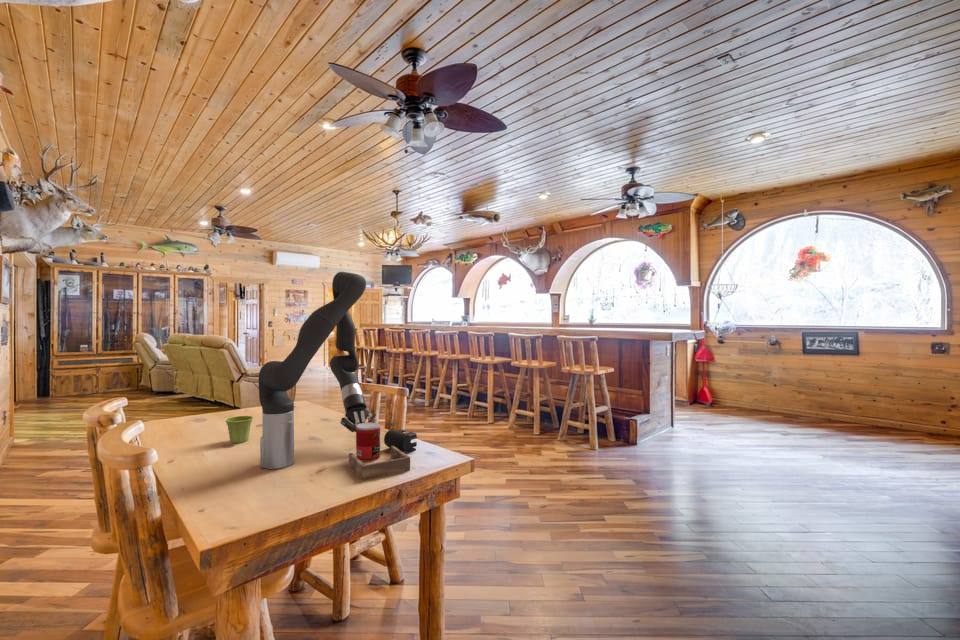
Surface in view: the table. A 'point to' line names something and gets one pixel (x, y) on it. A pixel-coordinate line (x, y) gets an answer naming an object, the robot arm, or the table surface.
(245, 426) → the plant pot
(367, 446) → the canned food
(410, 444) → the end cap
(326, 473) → the table surface
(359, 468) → the tray
